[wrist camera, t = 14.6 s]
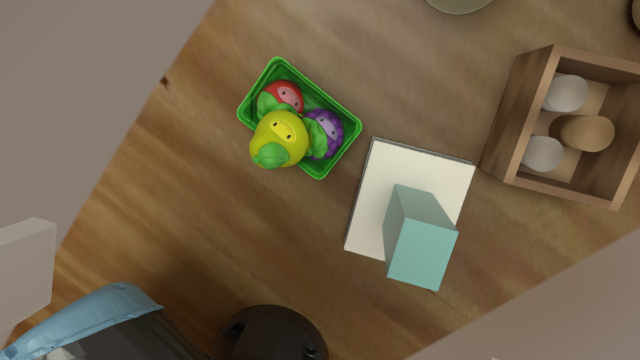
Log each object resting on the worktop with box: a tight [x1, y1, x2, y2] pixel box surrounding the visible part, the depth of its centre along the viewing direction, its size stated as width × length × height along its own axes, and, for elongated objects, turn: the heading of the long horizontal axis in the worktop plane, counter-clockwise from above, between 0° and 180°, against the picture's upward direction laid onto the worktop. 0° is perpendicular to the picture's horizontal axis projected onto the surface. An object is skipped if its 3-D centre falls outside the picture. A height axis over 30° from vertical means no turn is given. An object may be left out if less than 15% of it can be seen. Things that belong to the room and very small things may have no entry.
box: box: [478, 44, 640, 212], centre depth 35 cm, size 12×10×8 cm
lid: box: [344, 140, 475, 292], centre depth 35 cm, size 13×11×14 cm
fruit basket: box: [237, 57, 362, 180], centre depth 37 cm, size 11×9×11 cm
